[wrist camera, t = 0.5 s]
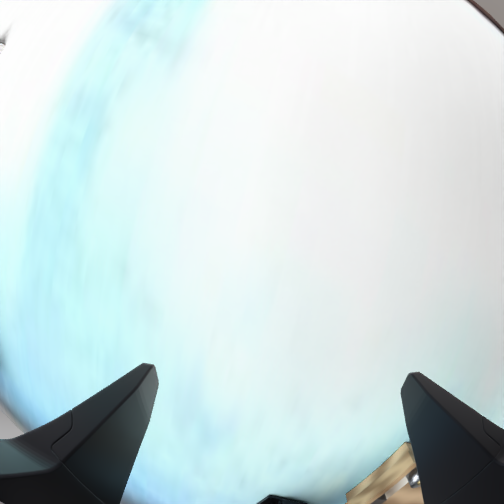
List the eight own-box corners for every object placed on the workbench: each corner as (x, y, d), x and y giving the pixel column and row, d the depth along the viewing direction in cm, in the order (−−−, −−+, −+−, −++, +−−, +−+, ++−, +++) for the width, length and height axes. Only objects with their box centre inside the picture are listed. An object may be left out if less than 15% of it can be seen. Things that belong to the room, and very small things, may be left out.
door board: (423, 499, 26) (430, 514, 22) (341, 494, 26) (346, 516, 22) (473, 453, 24) (483, 468, 20) (402, 441, 24) (414, 463, 20)
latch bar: (400, 475, 23) (406, 489, 20) (417, 459, 22) (424, 473, 19) (442, 478, 23) (448, 489, 20) (457, 464, 22) (464, 475, 19)
